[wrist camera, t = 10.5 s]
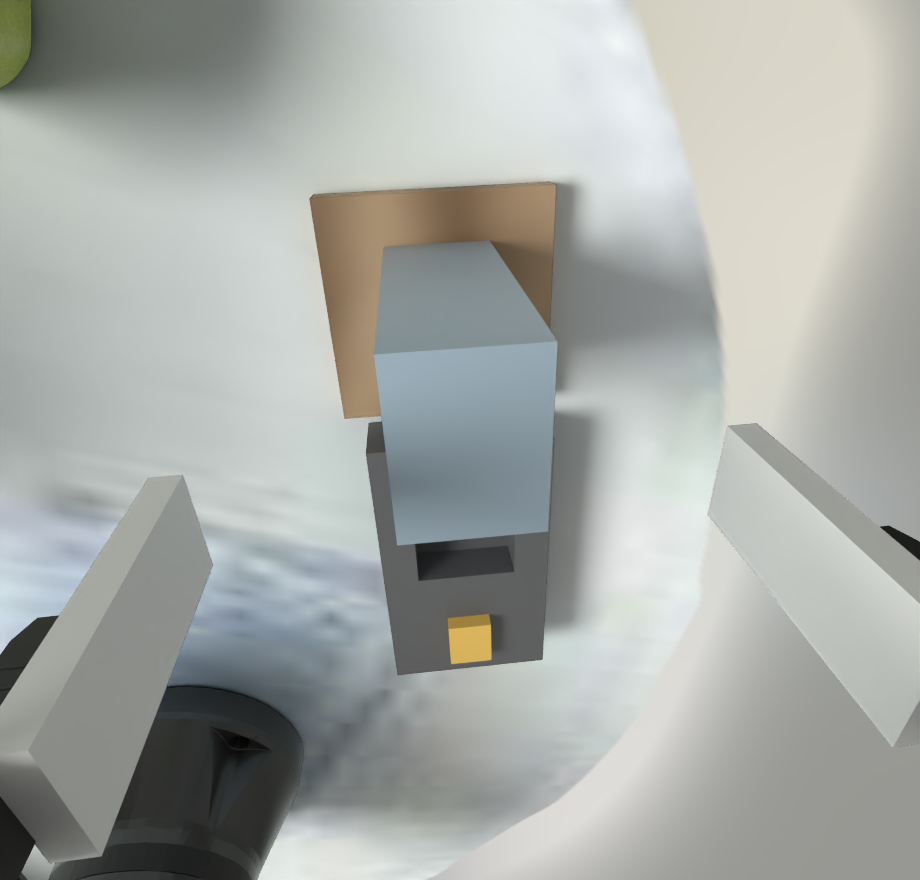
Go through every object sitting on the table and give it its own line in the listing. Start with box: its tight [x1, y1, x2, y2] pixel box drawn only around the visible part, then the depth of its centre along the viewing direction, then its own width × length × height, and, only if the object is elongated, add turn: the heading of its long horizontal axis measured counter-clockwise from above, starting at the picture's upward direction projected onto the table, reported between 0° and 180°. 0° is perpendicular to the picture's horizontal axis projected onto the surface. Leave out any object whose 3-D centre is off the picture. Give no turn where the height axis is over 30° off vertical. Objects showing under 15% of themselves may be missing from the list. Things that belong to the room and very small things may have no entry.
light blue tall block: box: [374, 241, 558, 545], centre depth 21 cm, size 4×6×12 cm
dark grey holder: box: [366, 422, 554, 675], centre depth 32 cm, size 9×16×4 cm, turn 2°
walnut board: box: [310, 182, 556, 419], centre depth 26 cm, size 10×10×1 cm
